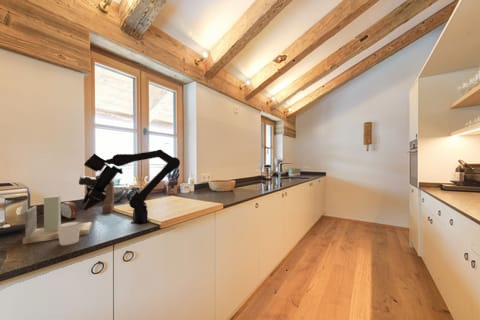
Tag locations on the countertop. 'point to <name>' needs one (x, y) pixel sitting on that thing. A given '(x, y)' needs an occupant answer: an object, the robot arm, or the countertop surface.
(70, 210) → the tin
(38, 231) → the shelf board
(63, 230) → the white cup
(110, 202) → the wooden block
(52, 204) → the sage block
